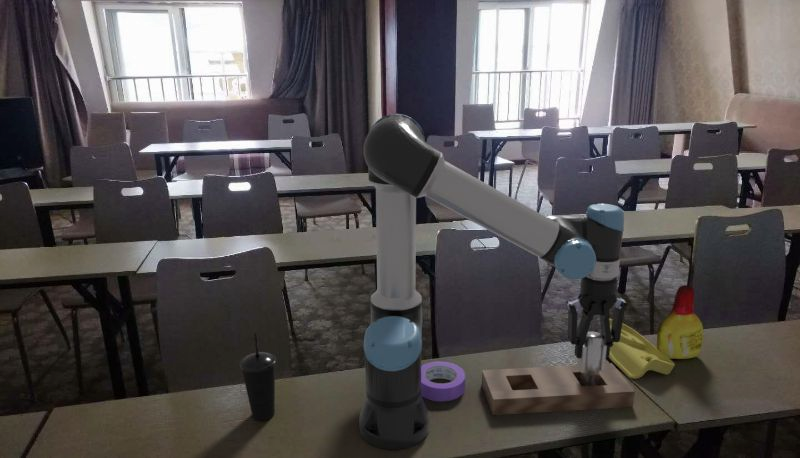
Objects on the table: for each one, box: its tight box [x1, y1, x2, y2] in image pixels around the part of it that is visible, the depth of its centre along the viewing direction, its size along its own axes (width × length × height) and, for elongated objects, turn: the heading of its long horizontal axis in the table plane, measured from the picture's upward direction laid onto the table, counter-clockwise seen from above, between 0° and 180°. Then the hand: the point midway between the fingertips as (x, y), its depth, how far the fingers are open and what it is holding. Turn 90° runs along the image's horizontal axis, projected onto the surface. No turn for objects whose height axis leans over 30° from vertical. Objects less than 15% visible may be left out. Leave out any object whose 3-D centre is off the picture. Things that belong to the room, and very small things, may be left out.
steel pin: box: [580, 331, 603, 387], centre depth 131 cm, size 4×4×14 cm
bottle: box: [656, 284, 704, 360], centre depth 146 cm, size 12×6×20 cm, turn 95°
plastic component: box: [608, 317, 676, 380], centre depth 148 cm, size 20×7×10 cm
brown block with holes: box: [481, 362, 636, 416], centre depth 132 cm, size 32×12×4 cm, turn 94°
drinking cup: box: [239, 333, 277, 422], centre depth 125 cm, size 8×8×20 cm
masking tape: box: [421, 360, 466, 402], centre depth 137 cm, size 12×12×4 cm
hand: (590, 368), depth 132 cm, fingers closed on steel pin, 4 cm apart
